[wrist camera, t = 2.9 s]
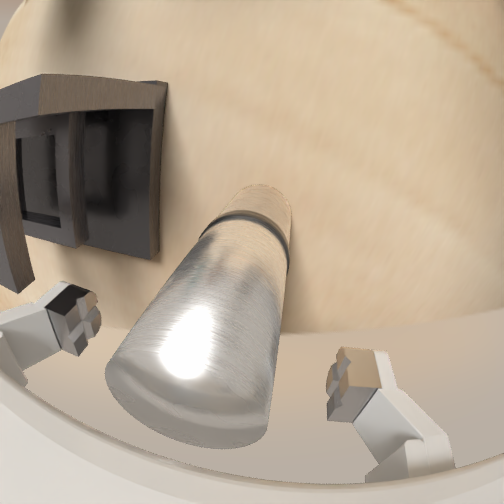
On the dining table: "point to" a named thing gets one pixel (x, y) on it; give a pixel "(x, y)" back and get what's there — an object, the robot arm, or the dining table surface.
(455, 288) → the dining table surface
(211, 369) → the grey cylinder
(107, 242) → the collar stand
